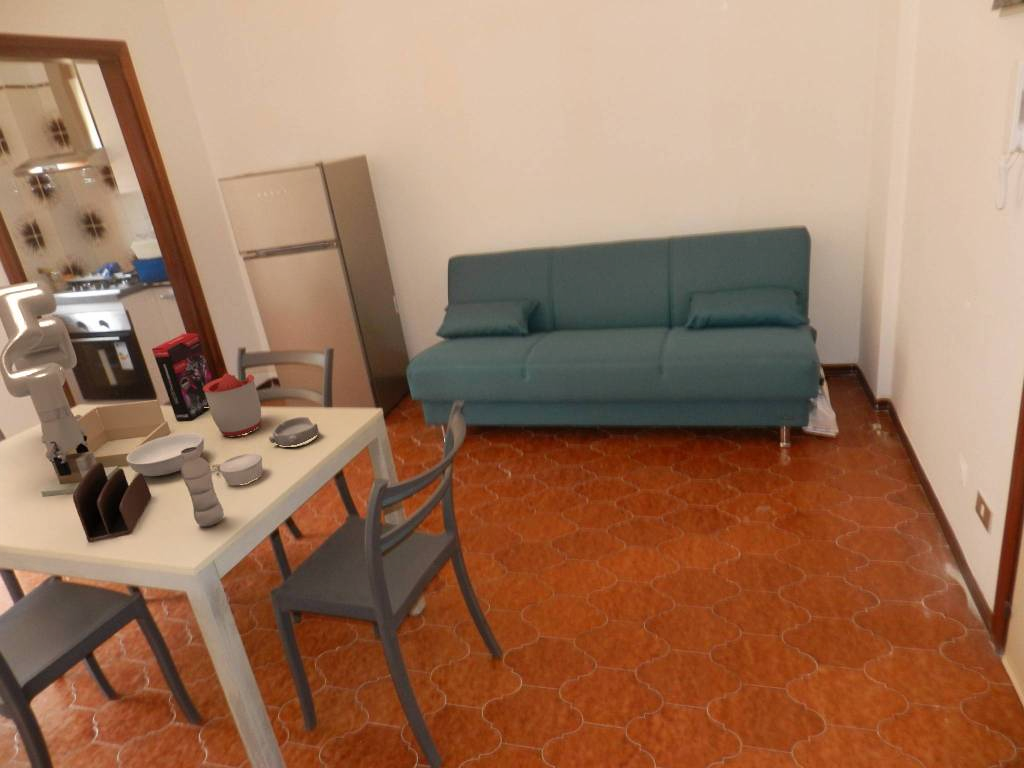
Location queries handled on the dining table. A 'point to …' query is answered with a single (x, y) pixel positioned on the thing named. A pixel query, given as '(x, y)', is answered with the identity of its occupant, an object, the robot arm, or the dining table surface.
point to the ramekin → (242, 468)
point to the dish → (294, 431)
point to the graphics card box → (184, 375)
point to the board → (71, 484)
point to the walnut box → (77, 467)
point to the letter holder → (110, 503)
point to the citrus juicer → (234, 404)
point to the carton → (122, 427)
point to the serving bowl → (163, 454)
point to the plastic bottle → (201, 488)
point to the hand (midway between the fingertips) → (76, 467)
